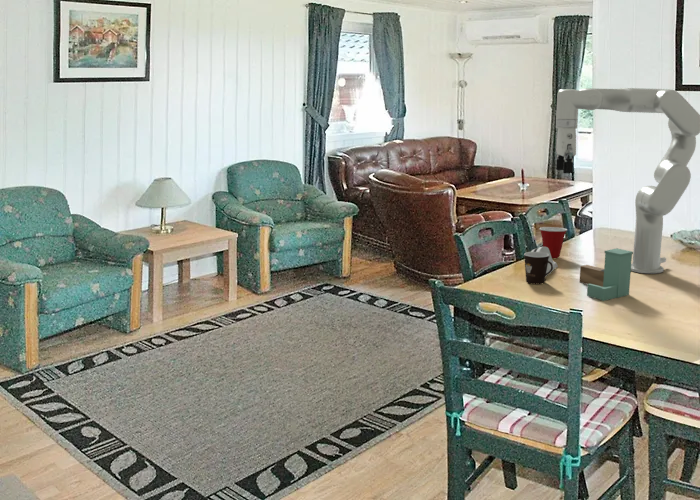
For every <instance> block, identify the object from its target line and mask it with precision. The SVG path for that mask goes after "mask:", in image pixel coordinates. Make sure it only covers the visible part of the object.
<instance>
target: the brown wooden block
mask: <svg viewBox="0 0 700 500" xmlns="http://www.w3.org/2000/svg"><path fill="white" fill-rule="evenodd" d="M579 269H580V270H579V283H581V284H585V285H588V284H594V285H597V286H601V287H603V281H604V267H598V266H594V265H590V264H584V265H581V266H579Z"/></svg>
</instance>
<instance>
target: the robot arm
mask: <svg viewBox="0 0 700 500" xmlns="http://www.w3.org/2000/svg"><path fill="white" fill-rule="evenodd" d="M556 95H557V97H556V118H555V129H557V135H556V145H555V146H556V147H555V148H556V154H557V155H556V165H555V169H556V170H557V171H562V173H563V174H573V170H574V169H573V167H574V166H573V165H574V157H575V156H576V155H577V129H578V119H579V110H586V111H594V110H605V111H607V110H608V111H609V110H610V111H615V112H620V113H621V112H622V113H643V114H645V113H646V114H647V113H648V114H664V115H665V116H666V117H667V118H668V121H667V124H668V125H667V126H668V128H669V132H670V134H671V142H670V145H669V146H668V149H667V151H665V154H664V155H663V157H662V158H661V160H660V162H659V163H658V165H657V166H656V168H655V170H654V172H653V178H654V180H655V182H656V183H657V185H656V186H654V185H646V186H643V187H641V188H640V189H639V190H638V192H637V193H636V195H635V202H634V203H635V227H634V241H633V251H632V252H633V254H632V263H631V272H635V273H638V274H639V273H640V274H649V275H653V274H654V275H655V274H661V273H663V272H664V271H665V270H664V267H663V266H661V264H662V263H666V262H667V258H666V257H665V256H664V257H661V253H662V252H661V251H662V239H663V238H662V237H663V229H664V217H665V216H666V215H669V214H670V212H672V211H673V210H674V208H675V207H676V205H677V204H678V202H679V201H680V199H681V197H682V196H683V194H684V193H685V192H686V190H687V188H688V187H689V185H690V181H691V178H692V177H691V175H692V174H691V171H690V168H689V167H688V166H687V165H688V164H689V163H690V160H691V159H692V157H693V155H694V153H695V151H696V146H697V138H696V136H698V135H700V113H699V112H698V111H697V110H696V109H695V108H694V107H693V106H692V105H691V103H690V102H689V101H687V99H685V97H684V96H683V95H682V94H681V93H680V92H679V91H677V90H675V89H671V88H669V89H668V88H666V89H665V88H638V87H637V88H636V87H635V88H633V87H624V88H623V87H622V88H621V87H620V88H588V87H586V88H585V87H584V88H580V89H579V90H578V89H574V88H573V89H571V88H570V89H569V88H567V89H565V88H564V89H559V90H558V92H557V94H556Z"/></svg>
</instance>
